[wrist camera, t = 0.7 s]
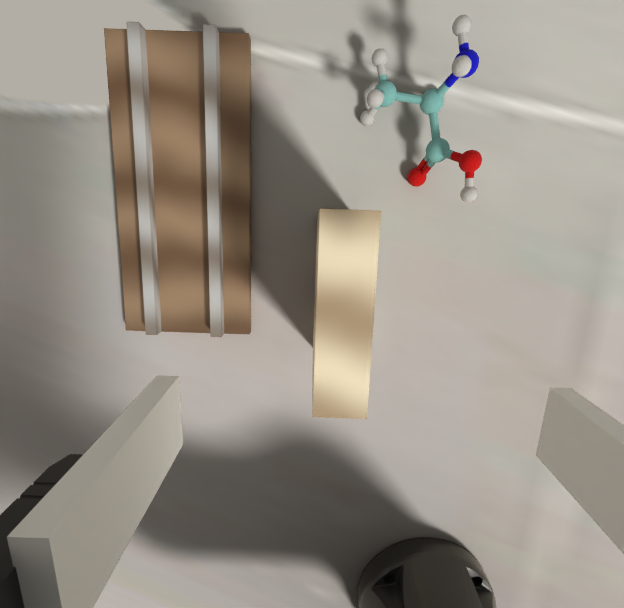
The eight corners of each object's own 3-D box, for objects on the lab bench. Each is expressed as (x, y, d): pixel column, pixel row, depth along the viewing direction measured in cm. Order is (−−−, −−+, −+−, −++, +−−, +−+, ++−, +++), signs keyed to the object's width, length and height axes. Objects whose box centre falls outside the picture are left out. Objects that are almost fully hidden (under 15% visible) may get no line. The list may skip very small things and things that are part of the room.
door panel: (347, 348, 38) (366, 418, 24) (312, 347, 38) (312, 417, 24) (354, 216, 35) (381, 210, 21) (317, 215, 35) (319, 208, 21)
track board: (250, 331, 37) (247, 337, 35) (130, 327, 37) (119, 333, 35) (250, 39, 32) (246, 25, 30) (110, 34, 32) (95, 20, 30)
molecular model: (314, 147, 30) (403, 63, 21) (354, 67, 33) (445, -35, 25) (413, 227, 35) (520, 185, 26) (440, 150, 38) (543, 89, 29)
